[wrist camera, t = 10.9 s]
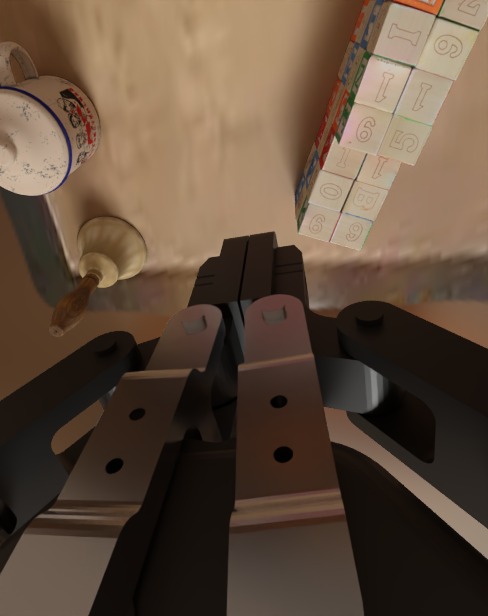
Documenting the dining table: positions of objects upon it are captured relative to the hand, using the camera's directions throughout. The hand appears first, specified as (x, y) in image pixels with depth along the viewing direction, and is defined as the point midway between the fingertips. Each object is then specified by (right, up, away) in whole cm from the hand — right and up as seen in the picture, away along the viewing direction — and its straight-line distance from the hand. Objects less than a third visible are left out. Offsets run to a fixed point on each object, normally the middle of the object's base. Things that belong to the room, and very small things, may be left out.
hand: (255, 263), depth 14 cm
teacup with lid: (-19, +19, +32) cm, 42 cm away
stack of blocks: (+11, +18, +29) cm, 36 cm away
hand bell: (-16, +6, +40) cm, 44 cm away
